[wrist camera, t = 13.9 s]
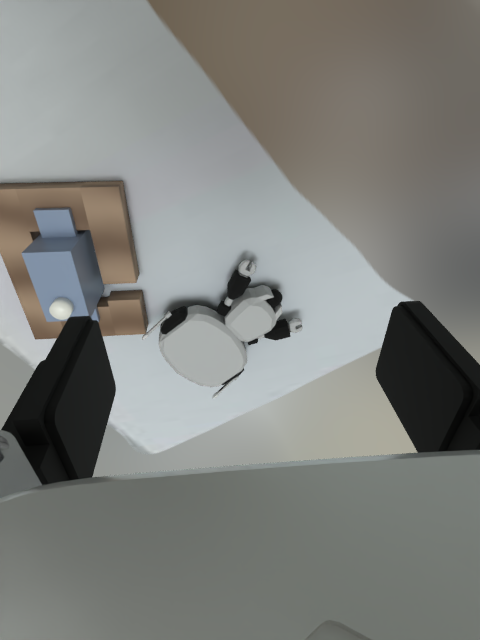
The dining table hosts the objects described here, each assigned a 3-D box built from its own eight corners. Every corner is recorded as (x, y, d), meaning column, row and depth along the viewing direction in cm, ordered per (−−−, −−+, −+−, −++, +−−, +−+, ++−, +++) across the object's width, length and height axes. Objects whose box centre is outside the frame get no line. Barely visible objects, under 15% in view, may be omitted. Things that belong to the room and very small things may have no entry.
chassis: (-14, 183, 33) (-25, 189, 31) (122, 180, 33) (118, 186, 32) (42, 328, 42) (35, 339, 40) (148, 323, 42) (145, 333, 41)
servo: (38, 201, 34) (4, 228, 28) (82, 200, 34) (57, 226, 28) (72, 309, 41) (50, 349, 35) (109, 308, 41) (93, 346, 35)
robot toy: (243, 242, 39) (140, 322, 42) (250, 258, 35) (136, 344, 38) (302, 315, 45) (208, 380, 48) (313, 336, 41) (210, 405, 44)
